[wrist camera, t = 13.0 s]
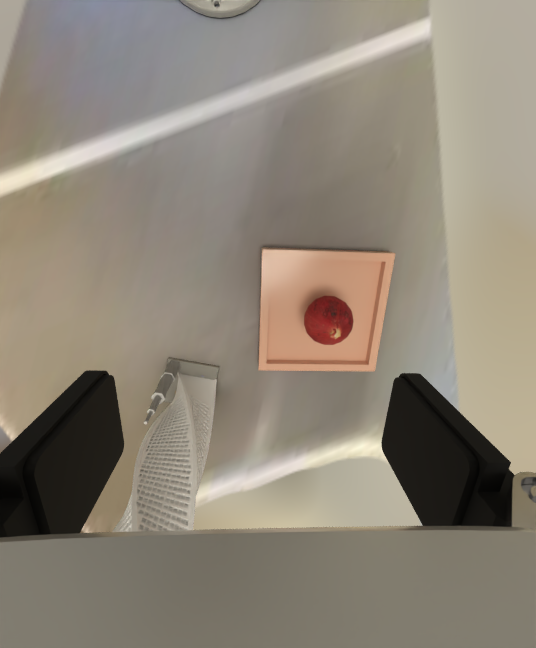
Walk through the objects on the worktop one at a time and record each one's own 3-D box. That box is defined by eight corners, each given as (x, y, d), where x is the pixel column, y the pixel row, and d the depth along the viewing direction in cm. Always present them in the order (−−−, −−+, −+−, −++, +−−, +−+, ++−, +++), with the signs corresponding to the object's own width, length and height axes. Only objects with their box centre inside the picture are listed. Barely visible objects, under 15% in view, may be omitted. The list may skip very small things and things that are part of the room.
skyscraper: (229, 368, 44) (194, 606, 17) (219, 415, 46) (176, 683, 20) (168, 357, 43) (35, 593, 16) (162, 406, 45) (38, 676, 19)
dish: (261, 247, 38) (262, 249, 36) (388, 251, 39) (395, 253, 37) (258, 363, 44) (258, 370, 42) (369, 364, 45) (374, 371, 43)
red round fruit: (301, 288, 39) (313, 307, 32) (346, 290, 40) (368, 308, 32) (298, 331, 41) (308, 357, 34) (340, 332, 42) (359, 358, 34)
